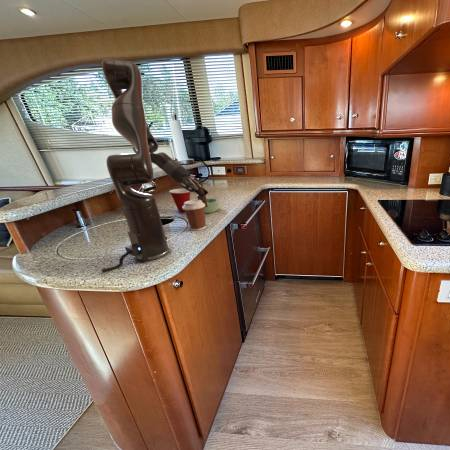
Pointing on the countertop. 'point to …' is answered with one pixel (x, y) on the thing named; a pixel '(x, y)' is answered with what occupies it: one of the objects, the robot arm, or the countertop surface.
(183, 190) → the plastic cup
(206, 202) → the muddler
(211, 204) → the bowl
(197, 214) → the coffee cup
